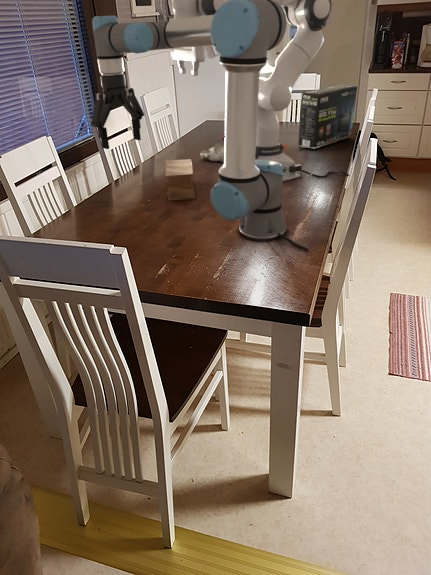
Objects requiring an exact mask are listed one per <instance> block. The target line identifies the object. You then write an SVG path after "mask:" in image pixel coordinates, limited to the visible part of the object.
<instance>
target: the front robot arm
mask: <svg viewBox="0 0 431 575" xmlns="http://www.w3.org/2000/svg"><path fill="white" fill-rule="evenodd" d="M173 19H174V18H173ZM173 19H165V20H156V21H155V20H154V21H136V22H134V21H132V22H122V23H120V22H119V19H118V17H117V15H99V16H98V15H97V16H94V17H93V18H92V21H91V22H92V30H93V31H92V34H93V38H94V44H95V51H96V52H95V53H96V57H97V58H96V59H97V64H98V70H99V74H101V75H100V85H101V88H102V90H103V92H102V93H101V92H99V93H98V92H95V93H94V100H95V102H94V108H93V111H92V115H91V116H92V117H91V122H90V126H91V127H92V128H93V127H94V128H96V129H97V136H98V138H99V139H100V142H101V148H102V149H105V150H109V149H110V144H109V137H108V131H107V127H105V125H106V123H107V120H108V118H109V116H110V113H111V111H112V110H113V109H114V108H117V107H118V106H120V107H121V106H122V107H123V108H124V109H125V110H126V111H127V112H128V114H129V115H130V116H131V117H132V118H133V119H132V118H131V127H132V135H133V140H135V141H141V140H142V138H141V120H142V119H143V117H145V113H144V111H143V108H142V107H141V104H140V102H139V100H138V98H137V96H136V94H135V90H134V88H133V87H127V82H126V75H125V74H124V72H125V65H124V57H123V53H127V54H128V53H133V54H137V55H138V54H144V53H147V52H151V51H157V50H158V51H159V50H170V49H172V48H184V47H199V46H204V47H211V46H214V47H215V48H214V49H215V51H216V53H218V54H219V64H220V66H221V67H222V68H224V71H225V80H224V81H225V85H224V86H225V89H224V90H225V92H224V98H225V99H224V135H225V138H224V142H223V143H224V162H223V164H222V166H220V167H219V169H218V178H217V179H218V182H216V183H215V184H214V186H212V187H211V190H210V202H211V205H212V207H213V209H214V210H215V211H216V212H217V214H218V215H219V216H221V217H222V218H224V219H225V220H227V221H239V226H238V232H239V235H240V236H241V237H242V238H244V239H247V240H250V241H254V242H271V241H277V240H279V239H283V240H285V241H286V242H288V243H289V244H291V245H293V246H294V247H296V248H298V249H300V250H303V251H305V252H308V251H309V247H306V246H303V245H302V244H299V243H297V242H295V241H294V240H292V239H291V238H288V237H287V236H286V234H287V223H286V221H285V216H284V214H283V210H282V200H283V183H284V181H283V167H282V165H281V164H280V163H278V162H275V161H270V160H255V154H256V135H257V117H258V98H259V79H260V78H261V75H260V74H261V70H262V69H263V68H264V67H265V66H266V65H267V62H268V60H267V59H268V52H269V51H271V50H273V49H275V48H276V47H278V46H279V44H280V43H281V42H282V41H283V39H284V38H285V35H286V32H287V27H288V26H287V25H288V21H287V20H286V15H285V10H284V7H281V6H280V5H279V4H278V3H277V2H276V1H274V0H229V1H227V2H225V3H224V4H222V5H221V6H220V7H219V9H218V10H217V11H216V13H215V15H207V16H199V17H190V18H182V19H174V20H173Z"/></svg>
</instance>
